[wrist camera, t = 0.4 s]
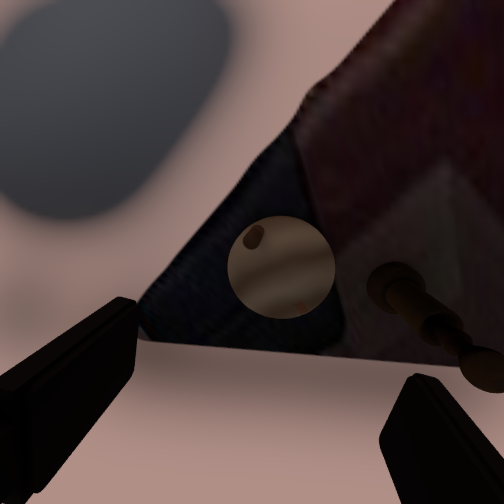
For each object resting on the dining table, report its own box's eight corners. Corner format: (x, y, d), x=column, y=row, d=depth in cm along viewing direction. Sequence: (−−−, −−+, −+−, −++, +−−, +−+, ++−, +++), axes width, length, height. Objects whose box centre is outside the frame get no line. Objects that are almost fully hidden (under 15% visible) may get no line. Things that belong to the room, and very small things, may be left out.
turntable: (351, 287, 33) (369, 314, 26) (261, 328, 36) (255, 362, 29) (301, 195, 31) (307, 197, 24) (211, 247, 34) (191, 263, 27)
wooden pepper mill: (410, 309, 35) (536, 430, 17) (362, 303, 35) (438, 414, 18) (422, 264, 33) (576, 349, 16) (372, 259, 34) (465, 334, 16)
